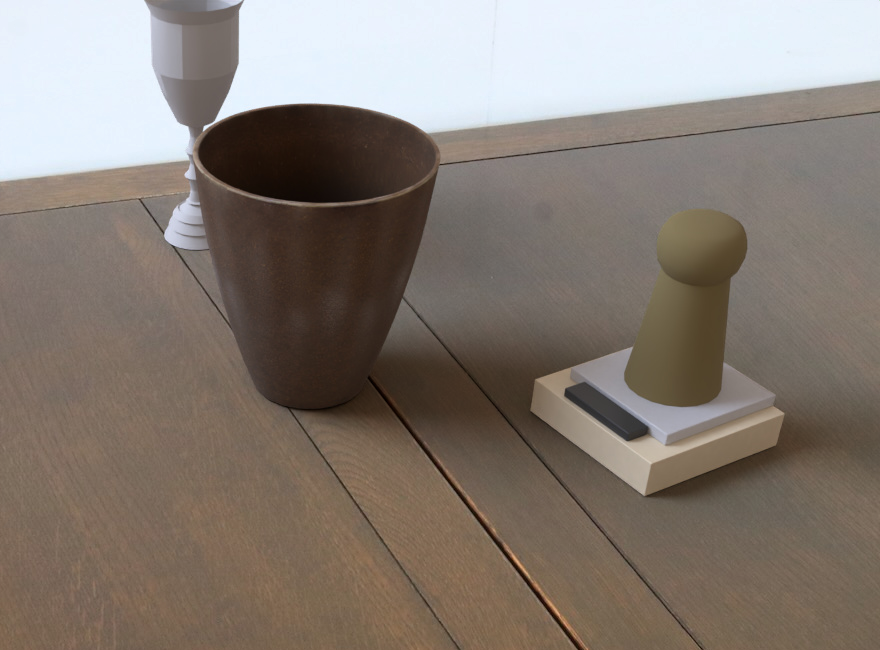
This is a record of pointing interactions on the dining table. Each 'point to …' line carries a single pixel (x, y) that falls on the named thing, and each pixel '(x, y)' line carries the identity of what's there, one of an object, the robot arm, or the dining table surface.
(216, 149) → the flower pot
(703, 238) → the olive pawn
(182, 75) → the chalice
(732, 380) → the scale
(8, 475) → the dining table surface
